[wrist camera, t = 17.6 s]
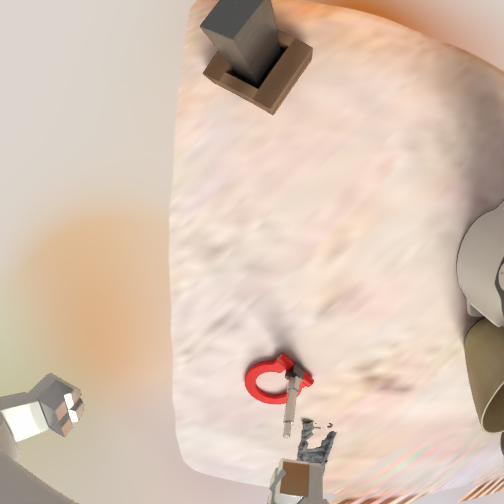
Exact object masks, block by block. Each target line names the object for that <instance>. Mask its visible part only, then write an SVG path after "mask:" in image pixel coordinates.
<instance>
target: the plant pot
mask: <svg viewBox="0 0 504 504" xmlns="http://www.w3.org/2000/svg"><path fill="white" fill-rule="evenodd" d="M464 349H465V358H466V365H467V371H468V377H469V382H470V387H471V391H472V396H473V400H474V404H475V407H476V411H477V414H478V418H479V421H480V425H481V428H482V430H483V431H484V432H485V433H488V434H497V433H501V432H504V326H501V327H497V326H496V325H494V324H493V323H492V322H491V321H490V320H488V319H487V318H484V319H482V320H480V321H478V322H477V323H476V324H475V325H474V326H473V327H472V328H471V329H470V330H469V332H468V334H467V336H466V338H465V342H464Z"/></svg>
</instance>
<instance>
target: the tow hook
mask: <svg viewBox="0 0 504 504" xmlns="http://www.w3.org/2000/svg"><path fill="white" fill-rule="evenodd" d="M284 370H286V374H285V378H286V379H287V380H288V384H287V391H286V393H285V394H282V395H269V394H266V393H264V392H262V391H261V390H260V389H259V388H258V387H257V385H256V381H255V380H256V378H257V377H258V376H259V375H260V374H263V373H265V372H277V373H281V372H283V371H284ZM313 382H314V380H313V379H312V378H311V377H310V376H309V375H307V374H306V373H305V372H304V370H303V369H301V368H300V367H299V366H298V365H297V364H296V363H295V362H292V361H291V360H290V359H289V358H288V357H287V356H286V355H284V354H283V353H281V354H279V355H278V356H277V358H276V360H274V361H267V362H261V363H259V364H256V365H254V366H253V367H252V368H250V370H249V371H248V372H247V374H246V378H245V386H246V389H247V391H248V392H249V393H250V394H251V396H253V397H254V398H256V399H257V400H259V401H261V402H264V403H268V404H285V403H286V409H285V415H284V421H283V424H284V425H285V427H284V433H283V437H284V438H289V437H290V432H291V426H292V425H293V423H294V415H295V407H296V398H297V396H298V395H299V394H300V392H301V390H302V388H303V387H305V386H307V387H309V386H311V385H312V384H313Z"/></svg>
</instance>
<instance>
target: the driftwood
mask: <svg viewBox="0 0 504 504" xmlns="http://www.w3.org/2000/svg"><path fill="white" fill-rule="evenodd" d="M313 422H314V421H313ZM313 422H311V423H309V424H306V423H305V424H304V423H302V424H303V431H302V437H301V438H302V440H301V444H300V447H299V453H298V459H297V461H305V462H310V463H319V464H322V467H323V473H324V469H325V463H326V462H327V461H328V460H327V457H328V455H329V453H330V450H331V448H332V445H333V439H334V437H335V435H336V433H337V432H334V431H331V432H329V434H328V435H327V437H326V438H325V440H322V443H321V444H322V445H321V447H317V448H314V449H307V447H308V443H307V441H306V439H309V438H310V437H311V436H312V435H313V433H312V430H313V429H314V428H318V429H320V428H321V427H314V426H313V425H312V424H313ZM315 424H317V423H315ZM329 424H330V426H327V427H328V428H331V427H332V426H333V425H332V424H331V423H329ZM305 429H308V430H305ZM322 429H323V428H322ZM323 476H324V475H323Z"/></svg>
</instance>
